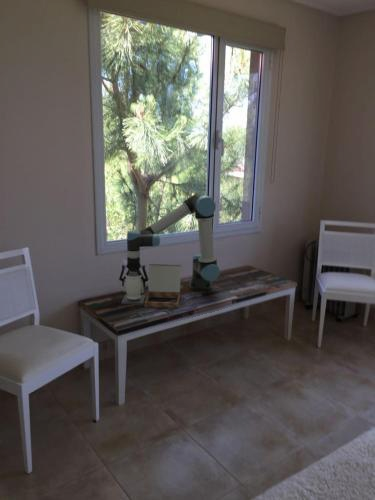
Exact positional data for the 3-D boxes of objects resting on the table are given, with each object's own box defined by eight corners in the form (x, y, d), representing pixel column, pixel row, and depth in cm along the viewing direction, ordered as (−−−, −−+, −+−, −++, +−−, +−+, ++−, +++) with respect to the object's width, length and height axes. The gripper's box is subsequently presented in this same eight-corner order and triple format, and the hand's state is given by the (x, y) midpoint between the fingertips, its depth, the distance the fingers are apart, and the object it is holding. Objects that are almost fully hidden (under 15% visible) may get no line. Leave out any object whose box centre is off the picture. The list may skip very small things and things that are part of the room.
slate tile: (145, 296, 263) (145, 295, 263) (142, 304, 250) (142, 303, 250) (125, 296, 263) (125, 294, 263) (121, 303, 251) (121, 302, 250)
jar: (139, 301, 250) (139, 277, 246) (122, 299, 252) (122, 276, 248) (144, 295, 260) (144, 272, 256) (128, 293, 262) (128, 270, 258)
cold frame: (179, 297, 263) (179, 293, 262) (178, 308, 247) (178, 303, 246) (148, 296, 264) (148, 291, 263) (144, 306, 247) (144, 302, 247)
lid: (179, 292, 262) (179, 292, 263) (180, 265, 262) (180, 265, 263) (148, 291, 263) (148, 290, 264) (149, 263, 263) (149, 263, 264)
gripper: (153, 255, 253) (153, 290, 259) (116, 254, 253) (116, 288, 259) (151, 259, 246) (151, 294, 251) (113, 257, 246) (114, 293, 252)
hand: (133, 291), depth 255 cm, fingers closed on jar, 10 cm apart
